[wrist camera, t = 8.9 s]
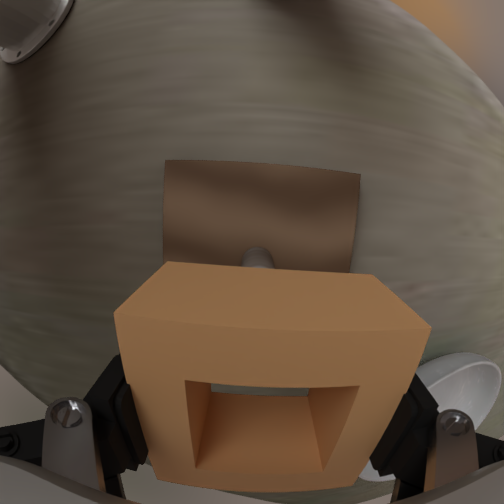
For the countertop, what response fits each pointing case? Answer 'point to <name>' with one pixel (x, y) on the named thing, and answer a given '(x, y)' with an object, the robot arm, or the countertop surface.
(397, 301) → the collar
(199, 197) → the post stand
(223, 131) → the countertop surface
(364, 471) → the serving bowl
